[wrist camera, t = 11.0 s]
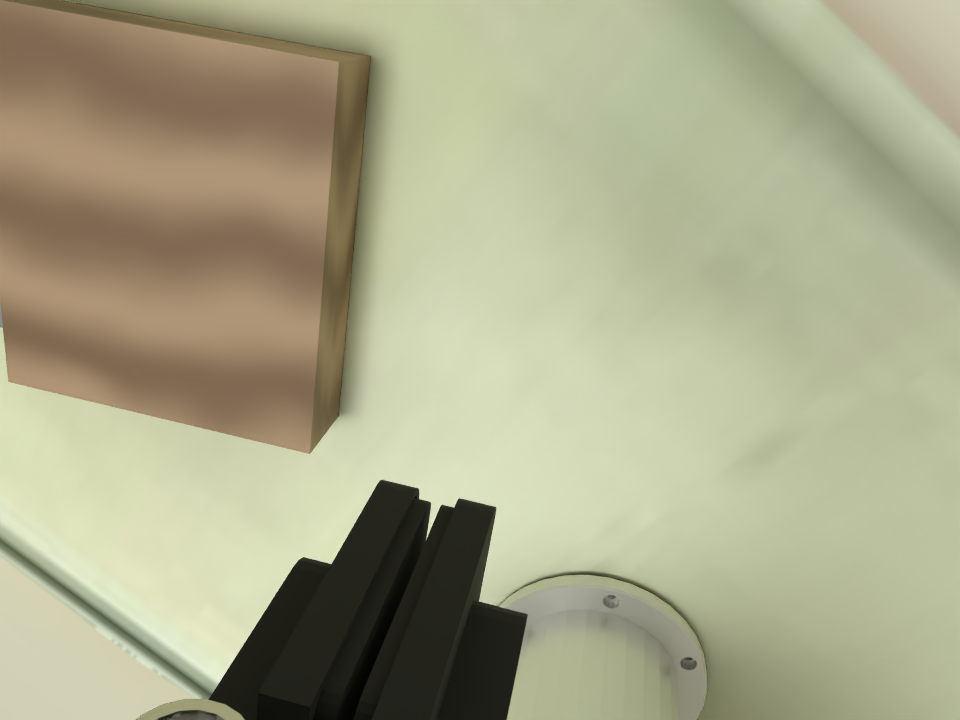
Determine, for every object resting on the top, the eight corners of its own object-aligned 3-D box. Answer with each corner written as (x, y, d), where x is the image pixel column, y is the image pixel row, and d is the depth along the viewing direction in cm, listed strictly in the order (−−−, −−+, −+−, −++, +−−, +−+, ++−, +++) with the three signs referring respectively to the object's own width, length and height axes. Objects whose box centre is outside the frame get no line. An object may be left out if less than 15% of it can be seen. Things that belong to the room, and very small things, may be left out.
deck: (338, 416, 43) (310, 453, 39) (60, 351, 45) (8, 381, 41) (370, 56, 35) (338, 62, 32) (35, -5, 37) (-32, -6, 34)
